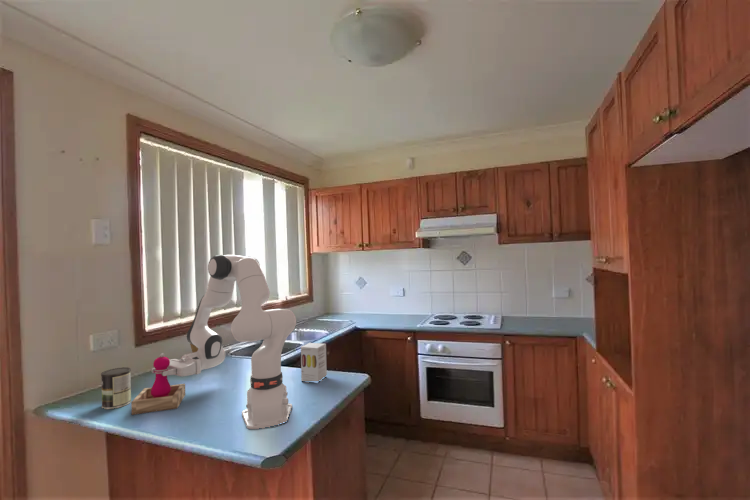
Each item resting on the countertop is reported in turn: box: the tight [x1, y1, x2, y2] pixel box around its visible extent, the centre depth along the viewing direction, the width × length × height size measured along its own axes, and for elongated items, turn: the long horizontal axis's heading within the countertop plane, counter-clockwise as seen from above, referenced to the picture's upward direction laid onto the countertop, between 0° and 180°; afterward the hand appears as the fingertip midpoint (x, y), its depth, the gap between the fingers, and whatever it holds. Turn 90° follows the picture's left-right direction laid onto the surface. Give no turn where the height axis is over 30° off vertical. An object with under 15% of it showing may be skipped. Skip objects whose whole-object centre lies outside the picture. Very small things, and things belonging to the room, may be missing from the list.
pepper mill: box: [151, 352, 171, 398], centre depth 154 cm, size 7×7×20 cm
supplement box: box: [300, 342, 328, 381], centre depth 178 cm, size 10×9×17 cm
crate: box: [130, 383, 186, 416], centre depth 153 cm, size 16×16×5 cm
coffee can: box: [100, 366, 132, 410], centre depth 155 cm, size 10×10×14 cm
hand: (157, 372), depth 153 cm, fingers open, 7 cm apart
